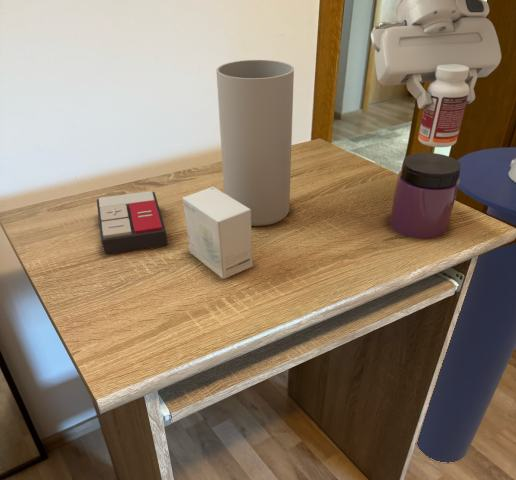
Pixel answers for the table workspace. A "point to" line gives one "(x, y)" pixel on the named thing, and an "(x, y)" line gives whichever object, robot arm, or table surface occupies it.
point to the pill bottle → (445, 106)
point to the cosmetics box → (219, 231)
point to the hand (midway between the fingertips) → (447, 104)
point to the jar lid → (430, 170)
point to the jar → (421, 209)
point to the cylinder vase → (257, 135)
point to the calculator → (130, 222)
